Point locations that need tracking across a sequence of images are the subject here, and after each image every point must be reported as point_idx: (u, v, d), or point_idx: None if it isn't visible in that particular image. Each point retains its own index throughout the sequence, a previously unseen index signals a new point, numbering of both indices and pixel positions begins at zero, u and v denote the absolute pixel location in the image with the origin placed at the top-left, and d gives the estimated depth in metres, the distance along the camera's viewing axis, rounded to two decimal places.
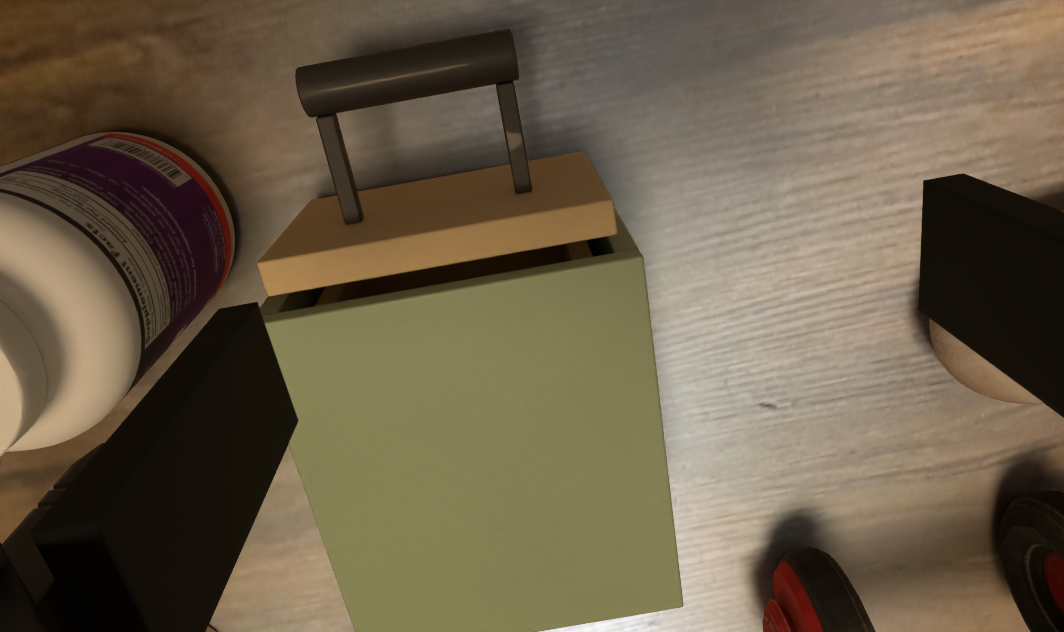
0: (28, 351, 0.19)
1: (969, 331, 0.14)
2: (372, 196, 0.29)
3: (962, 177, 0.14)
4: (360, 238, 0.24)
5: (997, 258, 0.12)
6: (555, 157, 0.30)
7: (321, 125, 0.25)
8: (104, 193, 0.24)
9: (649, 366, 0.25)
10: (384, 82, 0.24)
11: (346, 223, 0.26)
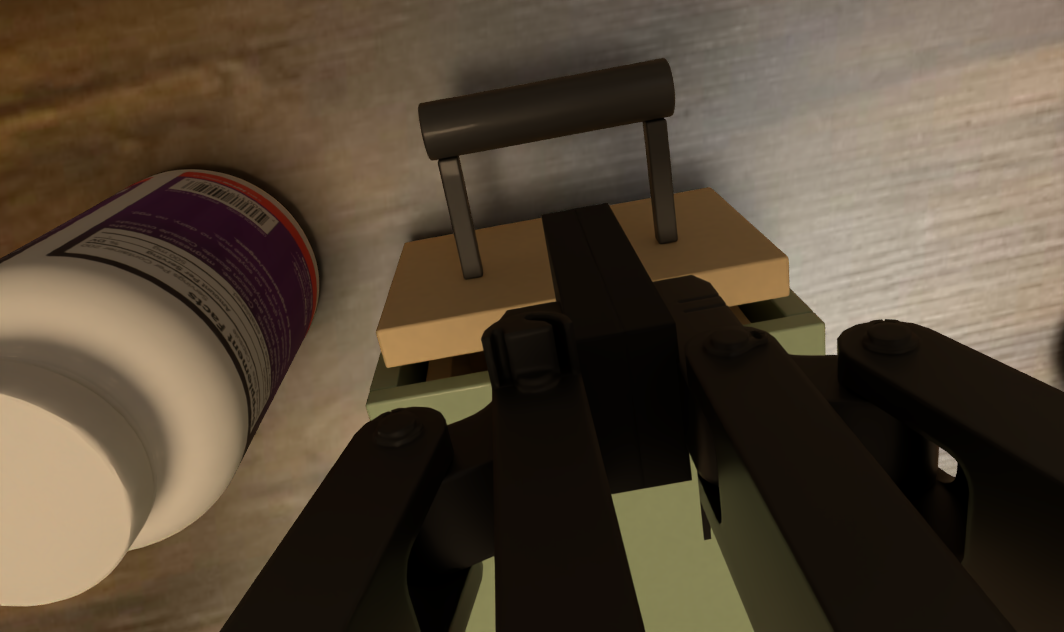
0: (136, 458, 0.16)
1: None
2: (479, 240, 0.26)
3: (603, 206, 0.16)
4: (492, 300, 0.21)
5: None
6: (680, 194, 0.27)
7: (444, 169, 0.21)
8: (200, 251, 0.20)
9: None
10: (522, 122, 0.20)
11: (465, 278, 0.23)
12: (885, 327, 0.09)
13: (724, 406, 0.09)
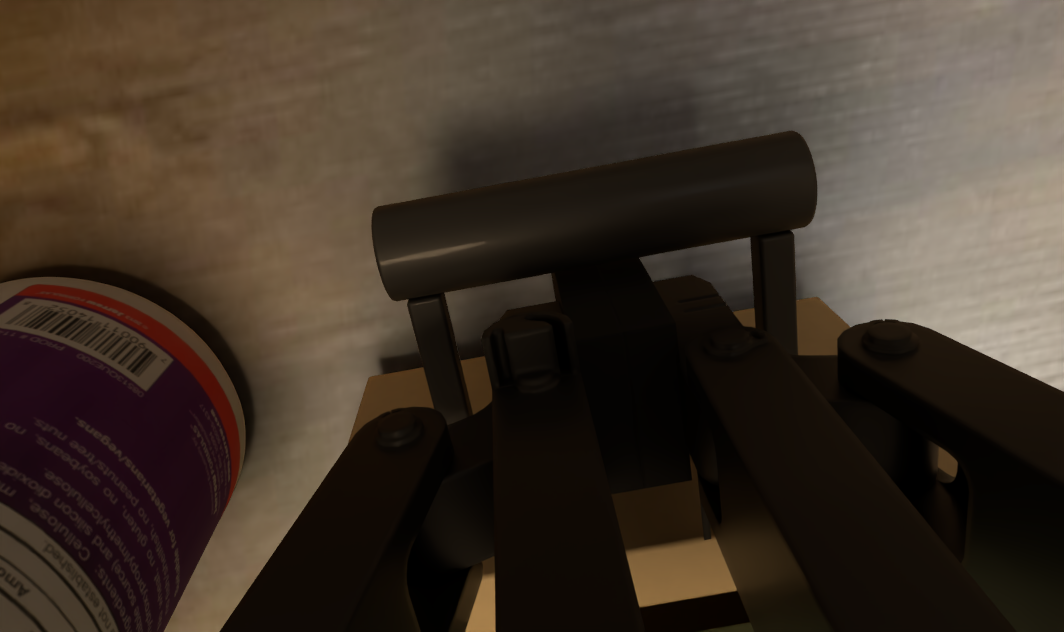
0: None
1: None
2: (477, 382, 0.17)
3: None
4: None
5: None
6: None
7: (417, 315, 0.13)
8: None
9: None
10: (551, 243, 0.12)
11: None
12: (886, 327, 0.09)
13: (724, 406, 0.09)
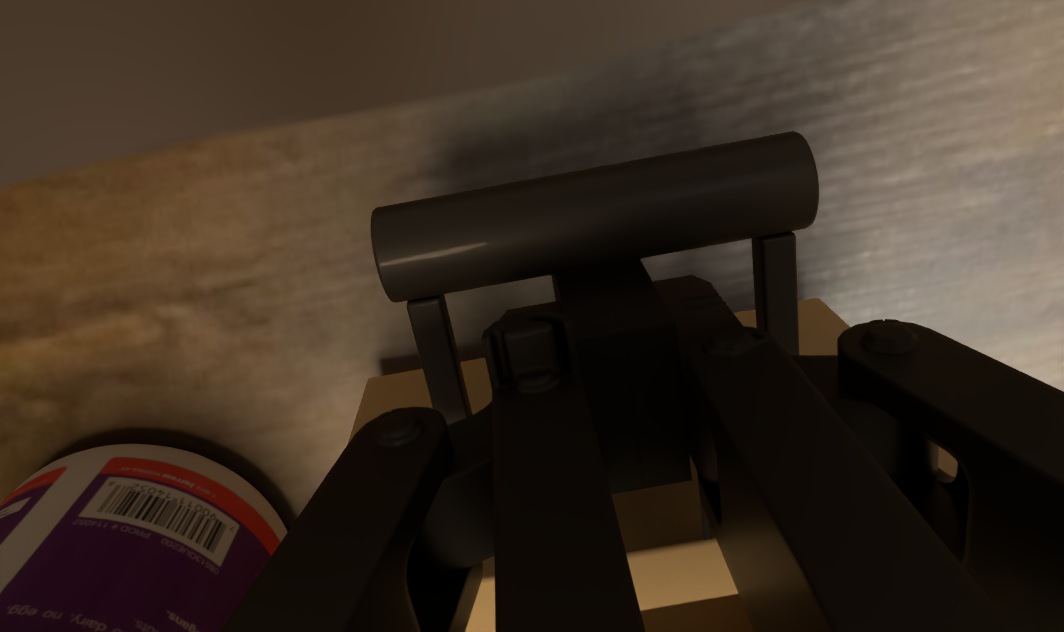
0: None
1: None
2: (477, 384, 0.17)
3: None
4: None
5: None
6: None
7: (417, 317, 0.13)
8: None
9: None
10: (551, 244, 0.12)
11: None
12: (886, 327, 0.09)
13: (724, 406, 0.09)
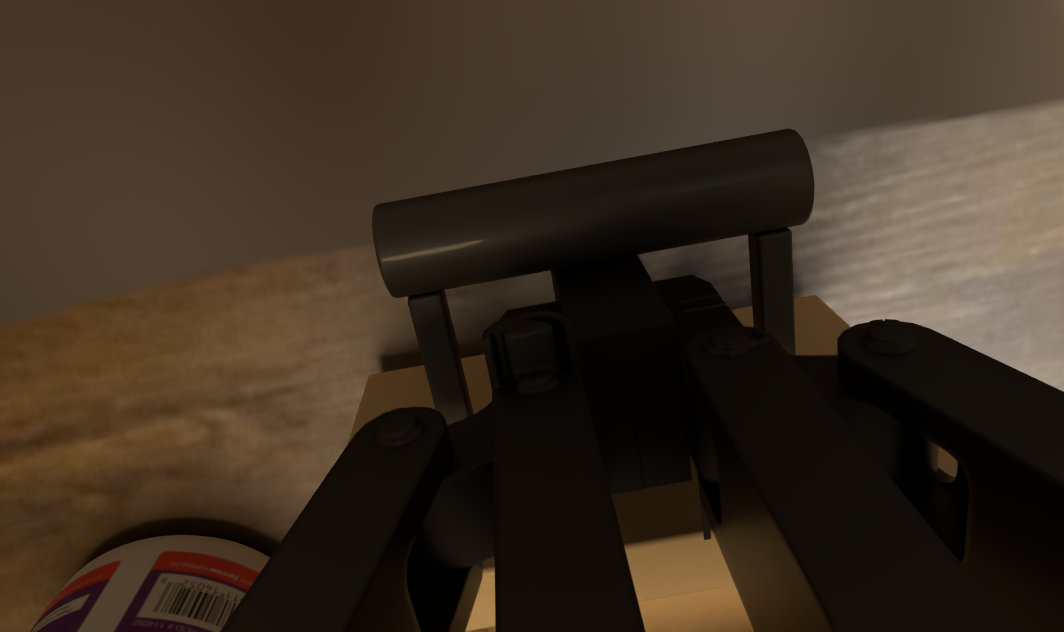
0: None
1: None
2: (477, 380, 0.18)
3: None
4: None
5: None
6: None
7: (418, 312, 0.13)
8: None
9: None
10: (550, 240, 0.12)
11: None
12: (885, 327, 0.09)
13: (724, 406, 0.09)
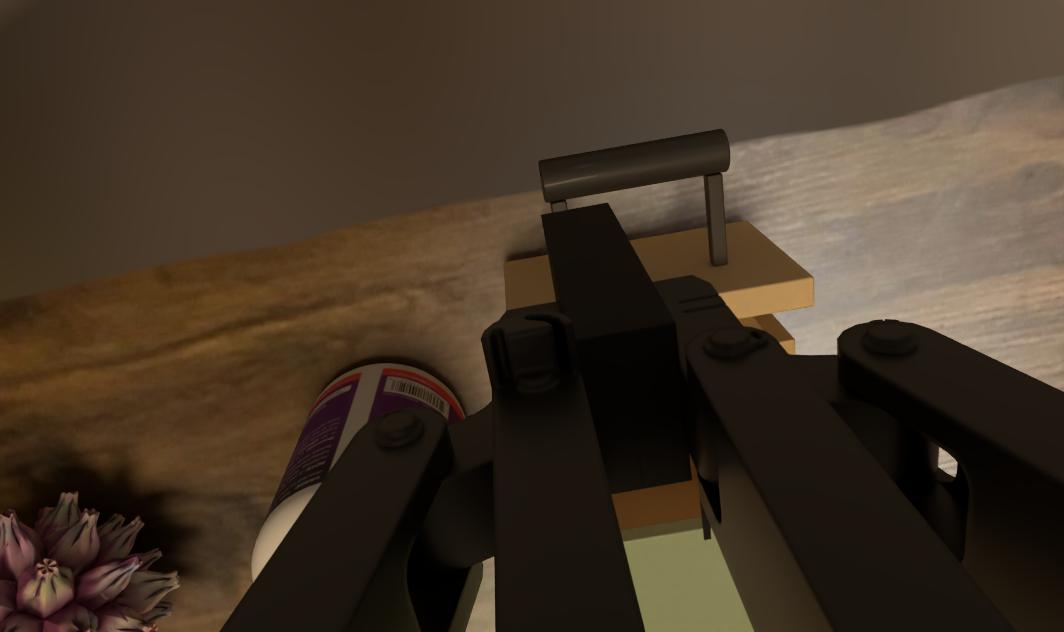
0: None
1: None
2: None
3: (602, 206, 0.16)
4: None
5: None
6: None
7: (555, 209, 0.29)
8: None
9: None
10: (617, 175, 0.28)
11: None
12: (885, 327, 0.09)
13: (724, 406, 0.09)
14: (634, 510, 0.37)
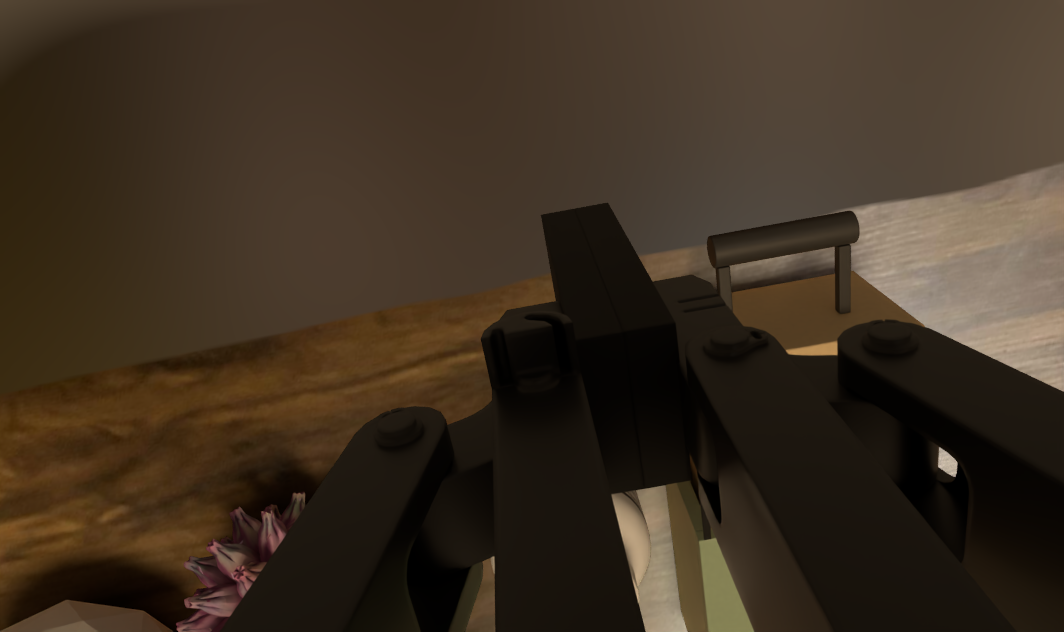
0: None
1: None
2: None
3: (603, 206, 0.16)
4: None
5: None
6: (834, 275, 0.43)
7: (721, 273, 0.37)
8: None
9: None
10: (772, 248, 0.36)
11: None
12: (885, 327, 0.09)
13: (724, 406, 0.09)
14: None
